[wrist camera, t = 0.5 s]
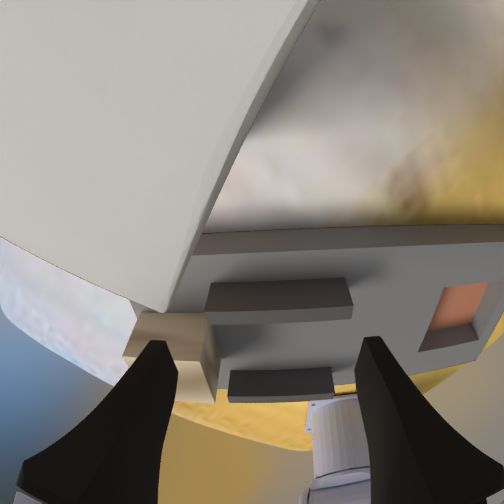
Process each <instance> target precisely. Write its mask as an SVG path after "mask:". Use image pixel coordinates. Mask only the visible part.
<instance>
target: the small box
mask: <svg viewBox="0 0 504 504" xmlns="http://www.w3.org/2000/svg"><path fill="white" fill-rule="evenodd" d="M319 1H320V0H0V237H2V238H4V239H5V240H7V241H9V242H11V243H13V244H14V245H16V246H18V247H20V248H22V249H24V250H26V251H28V252H30V253H31V254H33V255H35V256H37V257H39V258H41V259H43V260H45V261H47V262H49V263H51V264H53V265H55V266H57V267H59V268H61V269H63V270H65V271H67V272H69V273H71V274H73V275H75V276H77V277H79V278H81V279H84V280H86V281H88V282H90V283H92V284H95V285H97V286H99V287H101V288H104V289H106V290H108V291H110V292H113V293H115V294H117V295H120V296H122V297H124V298H127V299H129V300H131V301H134V302H136V303H138V304H141V305H143V306H145V307H148V308H150V309H153V310H155V311H157V312H160V313H162V314H163V313H165V312H166V311H167V310H168V309H169V308H170V306H171V304H172V302H173V299H174V297H175V294H176V292H177V290H178V287H179V285H180V282H181V280H182V278H183V275H184V273H185V270H186V268H187V266H188V263H189V261H190V259H191V256H192V254H193V252H194V249H195V247H196V245H197V242H198V240H199V238H200V236H201V233H202V231H203V229H204V227H205V224H206V222H207V220H208V218H209V215H210V213H211V211H212V209H213V206H214V204H215V202H216V200H217V198H218V195H219V193H220V191H221V189H222V187H223V184H224V182H225V180H226V178H227V176H228V174H229V172H230V169H231V167H232V165H233V163H234V161H235V159H236V157H237V155H238V153H239V151H240V148H241V146H242V144H243V142H244V140H245V138H246V136H247V134H248V132H249V130H250V128H251V126H252V124H253V122H254V120H255V118H256V116H257V114H258V112H259V110H260V108H261V106H262V104H263V102H264V101H265V99H266V97H267V95H268V93H269V91H270V89H271V87H272V85H273V83H274V82H275V80H276V78H277V76H278V74H279V72H280V70H281V69H282V67H283V65H284V63H285V61H286V59H287V58H288V56H289V54H290V52H291V50H292V49H293V47H294V45H295V43H296V41H297V40H298V38H299V36H300V34H301V33H302V31H303V29H304V28H305V26H306V24H307V22H308V20H309V19H310V17H311V15H312V13H313V12H314V10H315V8H316V6H317V5H318V3H319Z"/></svg>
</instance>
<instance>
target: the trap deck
mask: <svg viewBox="0 0 504 504" xmlns="http://www.w3.org/2000/svg"><path fill="white" fill-rule="evenodd" d="M130 303H131V305H132V307H133V310H134V312H135V314H136V317H137V319H138V317H139V315H140V313H141V312H148V313H160V312H157V311H155V310H153V309H150V308H148V307H145V306H143V305H141V304H138V303H136V302H134V301H131V300H130ZM503 312H504V224H467V225H406V226H367V227H337V228H310V229H286V230H264V231H244V232H225V233H207V234H201V236H200V238H199V240H198V242H197V245H196V247H195V249H194V252H193V254H192V256H191V259H190V261H189V263H188V266H187V268H186V270H185V273H184V275H183V278H182V280H181V282H180V285H179V287H178V290H177V292H176V294H175V297H174V299H173V302H172V304H171V306H170V308H169V309H168V310H167V311H166V312H165V313H204V314H205V318H206V322H207V325H213V329H214V333H215V337H216V341H217V345H218V349H219V353H220V356H221V364H220V371H219V378H218V385H217V389H228V395H227V397H228V400H229V403H276V402H300V401H316V400H328V399H333V398H334V394H335V390H334V385H344V384H354V383H356V382H355V373H354V369H355V366H356V362H357V359H358V356H359V353H360V349H361V346H362V342H363V339H364V337H371V336H380V337H381V338H382V339H383V341H384V342H385V344H386V345H387V347H388V348H389V350H390V351H391V353H392V354H393V356H394V357H395V358H396V360H397V361H398V363H399V364H400V366H401V367H402V368H403V370H404V371H405V373H406V374H407V375H408V376H409V375H414V374H419V373H424V372H429V371H434V370H439V369H443V368H448V367H452V366H456V365H460V364H464V363H468V362H472V361H475V360H476V359H477V358H478V356H479V354H480V353H481V351H482V350H483V348H484V346H485V345H486V343H487V341H488V339H489V338H490V336H491V334H492V332H493V331H494V329H495V327H496V325H497V323H498V321H499V320H500V318H501V316H502V314H503Z"/></svg>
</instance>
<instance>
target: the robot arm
mask: <svg viewBox="0 0 504 504" xmlns="http://www.w3.org/2000/svg"><path fill="white" fill-rule="evenodd" d="M178 373H179V372H178V370H177V367H176V365H175V363H174V360H173V358H172V355H171V353H170V350H169V348H168V345H167V343H166V341H163V340H150V341H149V342H148V344H147V345H146V346H145V348H144V349H143V350H142V352H141V353H140V354H139V356H138V357H137V358H136V360H135V361H134V362H133V364H132V365H131V366H130V368H129V369H128V370H127V371H126V373H125V374H124V375H123V376H122V378H121V379H120V380H119V382H118V383H117V384H116V385H115V386H114V388H113V389H112V390H111V391H110V392H109V393H108V395H107V396H106V397H105V398H104V399H103V400H102V401H101V402H100V404H99V405H98V406H97V407H96V408H95V409H94V410H93V411H92V412H91V413H90V414H89V415H88V416H87V417H86V418H85V419H84V420H82V421H81V422H80V423H79V424H78V425H77V426H76V427H74V428H73V429H72V430H71V431H70V432H68V433H67V434H66V435H65V436H63V437H62V438H61V439H59V440H58V441H56V442H55V443H53V444H52V445H51V446H49V447H48V448H46V449H45V450H43V451H41V452H39V453H38V454H36V455H34V456H32V457H31V458H29V459H27V460H25V461H24V462H23V465H22V468H21V470H20V473H19V476H18V479H17V482H16V487H17V488H18V489H20V490H21V491H23V492H24V493H26V494H28V495H29V496H31V497H33V498H35V499H37V500H38V501H40V502H42V503H43V504H158V483H159V470H160V462H161V453H162V448H163V443H164V439H165V435H166V431H167V427H168V423H169V419H170V416H171V412H172V408H173V404H174V400H175V396H176V389H177V382H178ZM354 373H355V382H356V391H357V394H350V395H340V396H334V398H333V399H328V400H316V401H309V406H308V413H307V419H306V426H305V433H312V443H313V462H314V479H313V480H310V486H308V487H306V488H305V489H304V490H303V492H302V493H301V494H300V497H299V502H298V504H487V501H486V498H487V497H489V496H491V495H493V494H495V493H497V492H498V491H500V490H502V489H504V467H503V465H501V464H500V463H498V462H497V461H495V460H493V459H492V458H490V457H489V456H487V455H486V454H484V453H483V452H481V451H480V450H479V449H477V448H476V447H475V446H473V445H472V444H471V443H470V442H468V441H467V440H466V439H465V438H464V437H463V436H461V435H460V434H459V433H458V432H457V431H456V430H454V429H453V428H452V427H451V426H450V425H449V424H448V423H447V422H446V421H445V420H444V419H443V418H442V417H441V415H440V414H439V413H438V412H437V411H436V410H435V409H434V408H433V407H432V406H431V405H430V403H429V402H428V401H427V400H426V399H425V397H424V396H423V395H422V394H421V392H420V391H419V390H418V389H417V387H416V386H415V385H414V383H413V382H412V381H411V379H410V378H409V377H408V375H407V374H406V373H405V371H404V370H403V368H402V367H401V366H400V364H399V363H398V361H397V360H396V358H395V357H394V356H393V354H392V353H391V351H390V350H389V348H388V347H387V345H386V344H385V342H384V341H383V339H382V338H381V337H380V336H371V337H364V339H363V342H362V346H361V349H360V353H359V356H358V359H357V362H356V366H355V369H354ZM42 503H39V502H37V501H35V500H33V499H31V498H29V497H28V496H26V495H24V494H22V493H20V492H17V493H16V496H15V499H14V503H13V504H42ZM498 504H504V500H503V501H501V502H500V503H498Z"/></svg>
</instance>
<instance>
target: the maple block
mask: <svg viewBox="0 0 504 504" xmlns="http://www.w3.org/2000/svg"><path fill="white" fill-rule="evenodd" d="M150 340H163V341H166V343H167V345H168V348H169V350H170V353H171V355H172V358H173V360H174V363H175V365H176V367H177V370H178V372H179V373H178V382H177V389H176V396H175V400H174V401H183V402H197V403H215V399H216V392H217V385H218V378H219V371H220V364H221V356H220V353H219V349H218V345H217V341H216V337H215V333H214V329H213V325H207V322H206V318H205V314H204V313H163V314H162V313H148V312H141V313H140V315H139V317H138V320H137V322H136V324H135V327H134V329H133V331H132V334H131V336H130V338H129V341H128V343H127V346H126V348H125V351H124V353H123V355H122V357H123V358H124V360H125V362H126V364H127V365H128V367H129V368H130V366H131V365H132V364H133V362H134V361H135V360H136V358H137V357H138V356H139V354H140V353H141V352H142V350H143V349H144V348H145V346H146V345H147V344H148V342H149V341H150Z"/></svg>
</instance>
